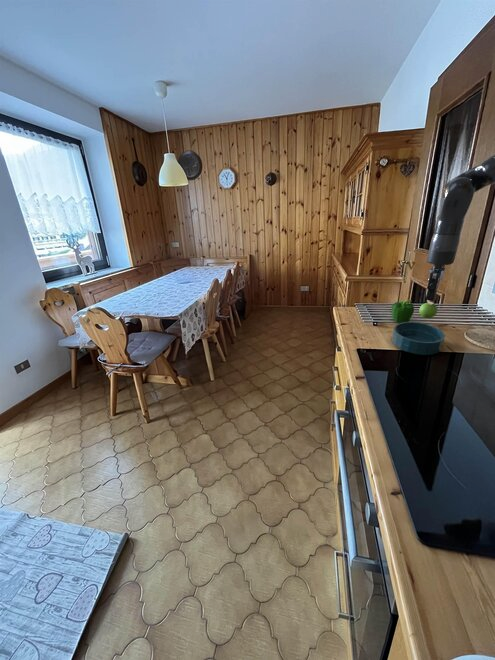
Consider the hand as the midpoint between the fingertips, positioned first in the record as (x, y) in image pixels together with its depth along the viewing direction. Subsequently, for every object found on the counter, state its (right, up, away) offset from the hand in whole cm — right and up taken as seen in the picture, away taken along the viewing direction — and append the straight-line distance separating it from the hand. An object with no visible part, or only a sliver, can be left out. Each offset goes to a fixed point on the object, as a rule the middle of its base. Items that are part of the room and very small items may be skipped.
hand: (430, 297), depth 98 cm
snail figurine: (+1, -7, +4) cm, 8 cm away
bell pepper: (+3, -8, +25) cm, 27 cm away
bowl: (-1, -17, +8) cm, 19 cm away
